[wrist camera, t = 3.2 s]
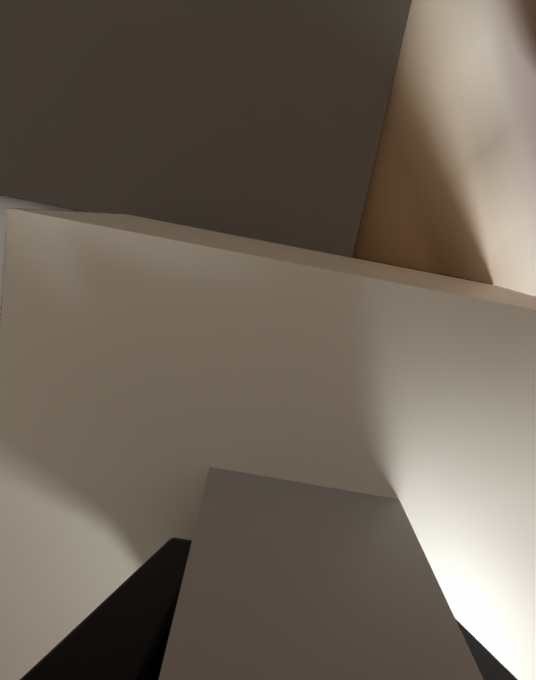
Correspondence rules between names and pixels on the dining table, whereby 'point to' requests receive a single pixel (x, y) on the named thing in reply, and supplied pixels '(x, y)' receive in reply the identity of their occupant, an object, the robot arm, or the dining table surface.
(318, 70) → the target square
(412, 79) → the dining table surface
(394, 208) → the dining table surface
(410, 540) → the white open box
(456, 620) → the robot arm
